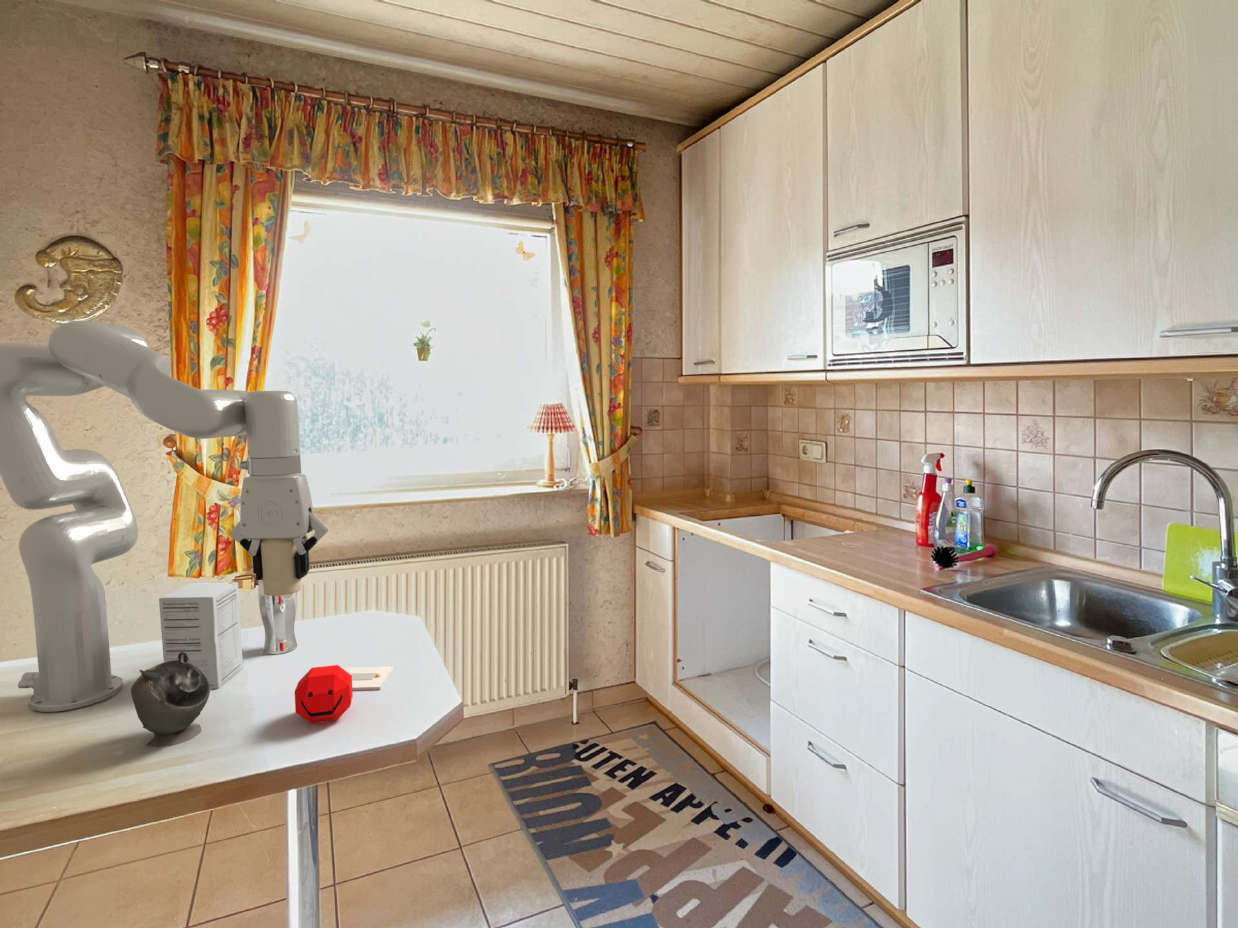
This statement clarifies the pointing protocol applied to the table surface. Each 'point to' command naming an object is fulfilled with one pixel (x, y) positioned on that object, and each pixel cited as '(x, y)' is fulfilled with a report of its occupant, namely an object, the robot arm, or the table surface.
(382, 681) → the card
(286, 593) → the candle
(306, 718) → the ball
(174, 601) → the supplement box
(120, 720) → the table surface
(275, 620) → the beer glass
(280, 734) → the table surface
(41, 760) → the table surface
